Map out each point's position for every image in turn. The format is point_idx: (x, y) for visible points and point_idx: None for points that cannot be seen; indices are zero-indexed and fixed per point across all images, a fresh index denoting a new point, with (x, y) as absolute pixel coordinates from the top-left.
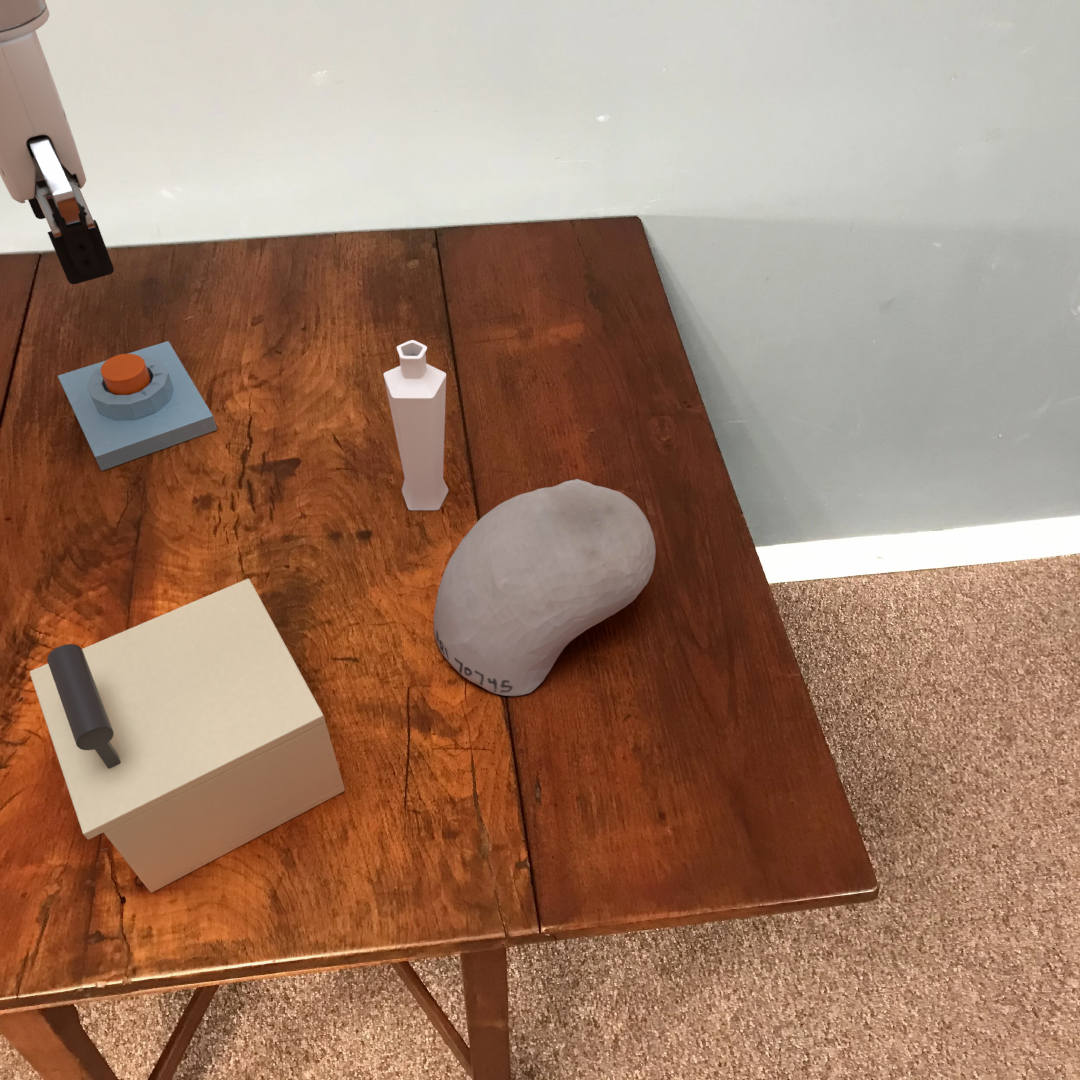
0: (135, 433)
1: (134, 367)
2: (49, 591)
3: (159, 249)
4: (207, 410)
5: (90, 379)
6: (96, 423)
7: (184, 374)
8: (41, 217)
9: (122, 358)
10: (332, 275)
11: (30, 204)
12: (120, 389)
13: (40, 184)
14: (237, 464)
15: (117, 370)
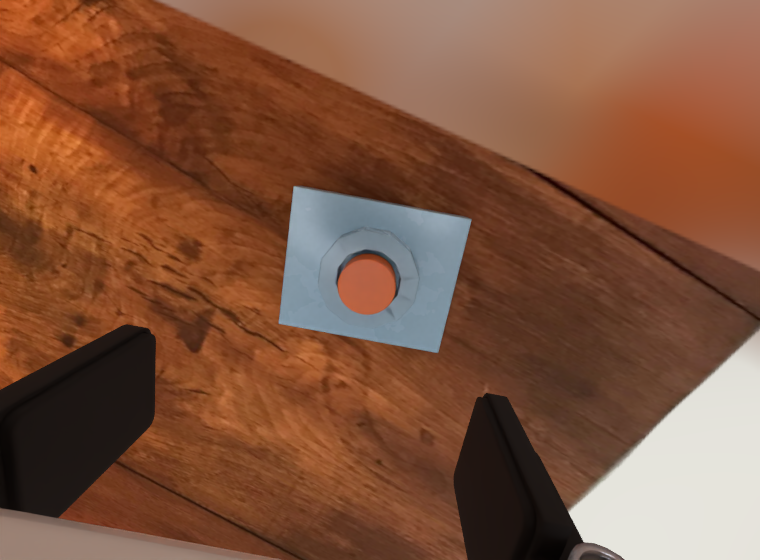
0: (303, 243)
1: (355, 298)
2: (151, 48)
3: (638, 430)
4: (290, 323)
5: (398, 245)
6: (349, 215)
7: (366, 336)
8: (478, 402)
9: (383, 295)
10: (441, 528)
11: (498, 419)
12: (346, 264)
13: (494, 507)
14: (223, 303)
15: (362, 278)
